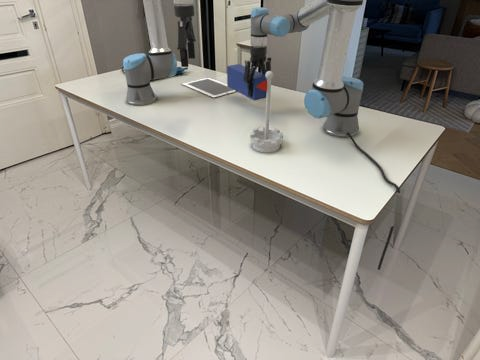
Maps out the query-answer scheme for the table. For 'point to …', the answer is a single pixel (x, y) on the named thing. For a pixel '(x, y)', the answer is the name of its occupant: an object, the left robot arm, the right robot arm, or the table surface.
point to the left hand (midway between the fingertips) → (188, 62)
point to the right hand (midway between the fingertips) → (257, 94)
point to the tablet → (210, 87)
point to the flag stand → (266, 124)
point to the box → (236, 82)
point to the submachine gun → (180, 70)
